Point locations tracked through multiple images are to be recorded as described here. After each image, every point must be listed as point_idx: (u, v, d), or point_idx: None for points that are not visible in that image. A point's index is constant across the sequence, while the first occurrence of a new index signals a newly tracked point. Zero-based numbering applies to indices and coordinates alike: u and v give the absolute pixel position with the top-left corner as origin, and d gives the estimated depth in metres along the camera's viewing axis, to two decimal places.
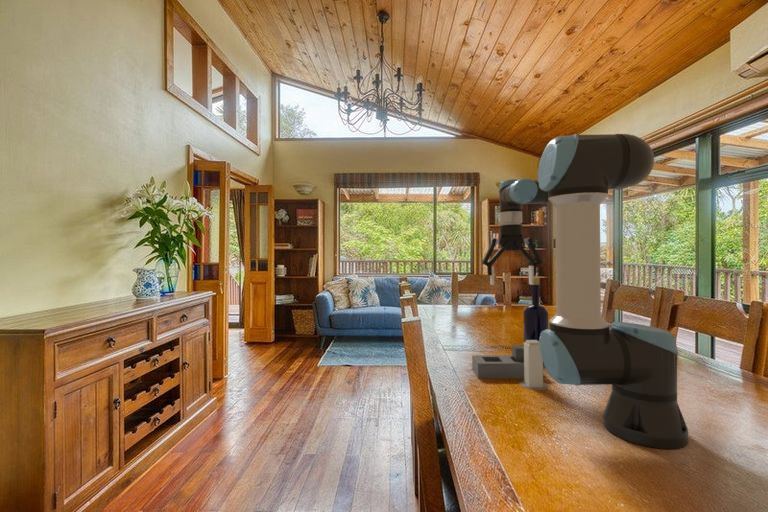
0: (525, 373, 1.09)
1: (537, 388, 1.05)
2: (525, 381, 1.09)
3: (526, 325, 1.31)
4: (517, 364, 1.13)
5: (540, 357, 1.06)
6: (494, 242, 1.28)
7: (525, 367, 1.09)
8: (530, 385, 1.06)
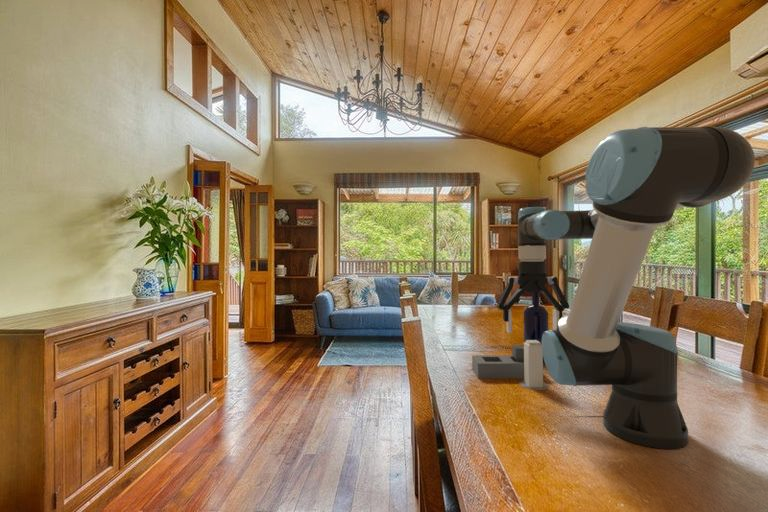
0: (525, 373, 1.09)
1: (537, 388, 1.05)
2: (525, 381, 1.09)
3: (526, 325, 1.31)
4: (517, 364, 1.13)
5: (540, 357, 1.06)
6: (512, 282, 1.07)
7: (525, 367, 1.09)
8: (530, 385, 1.06)
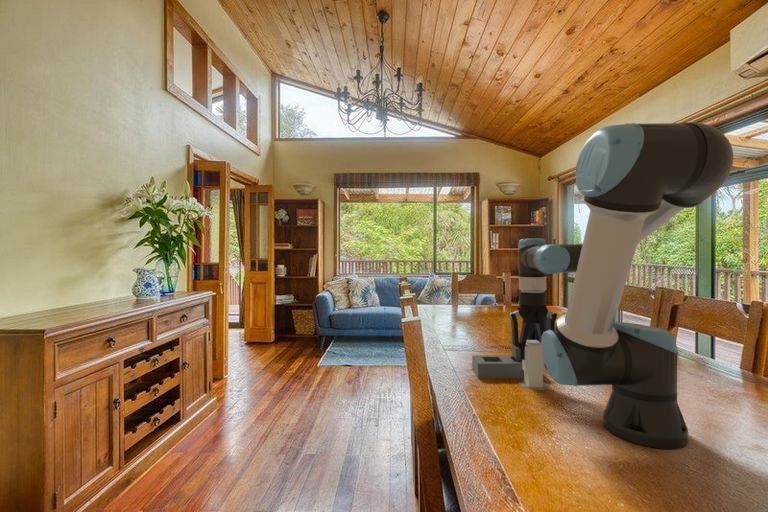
0: (525, 373, 1.09)
1: (537, 388, 1.05)
2: (525, 381, 1.09)
3: None
4: (517, 364, 1.13)
5: (540, 357, 1.06)
6: (514, 318, 1.07)
7: None
8: (530, 385, 1.06)
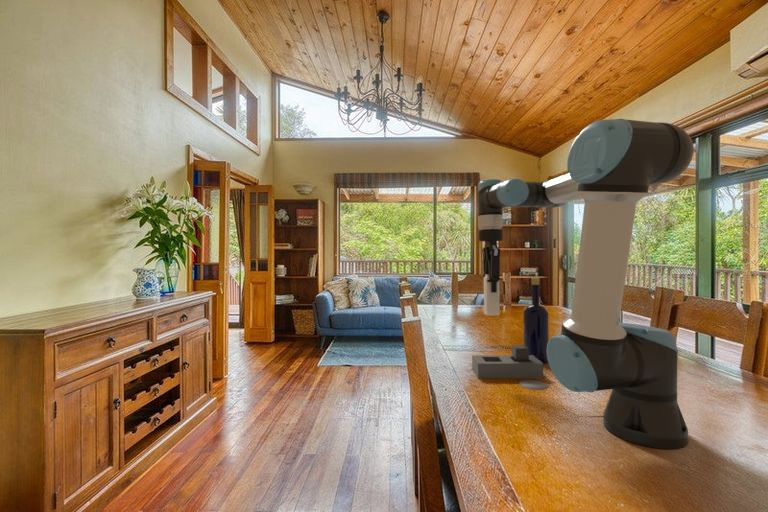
0: None
1: (537, 388, 1.05)
2: None
3: (526, 325, 1.31)
4: (517, 364, 1.13)
5: (486, 288, 1.17)
6: (483, 252, 1.23)
7: None
8: (484, 312, 1.20)
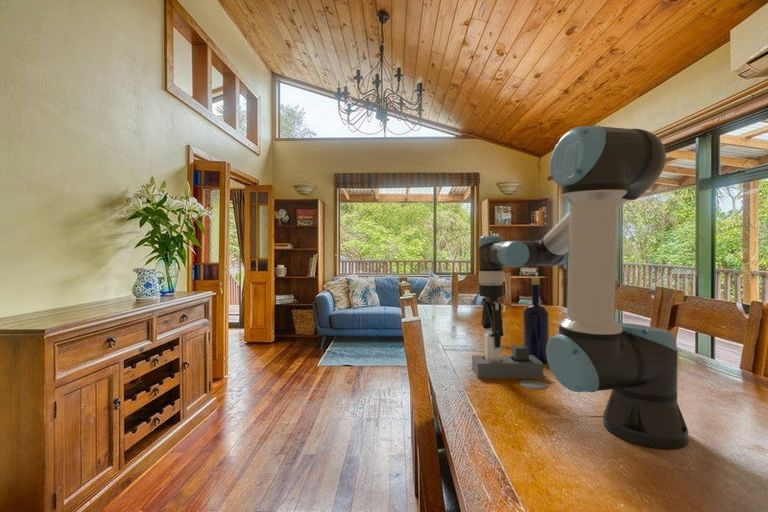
0: None
1: (537, 388, 1.05)
2: None
3: (526, 325, 1.31)
4: (517, 364, 1.13)
5: (487, 346, 1.17)
6: (483, 302, 1.24)
7: None
8: None
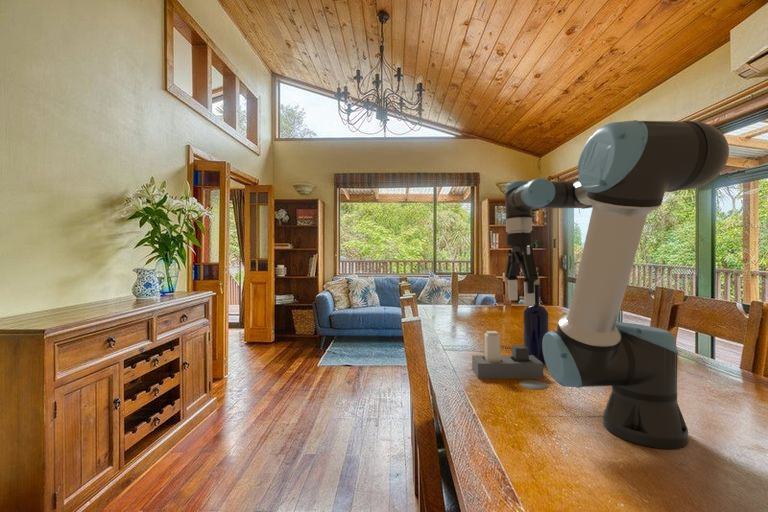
0: None
1: (537, 388, 1.05)
2: None
3: (526, 325, 1.31)
4: (517, 364, 1.13)
5: (487, 346, 1.17)
6: (508, 254, 1.18)
7: None
8: None
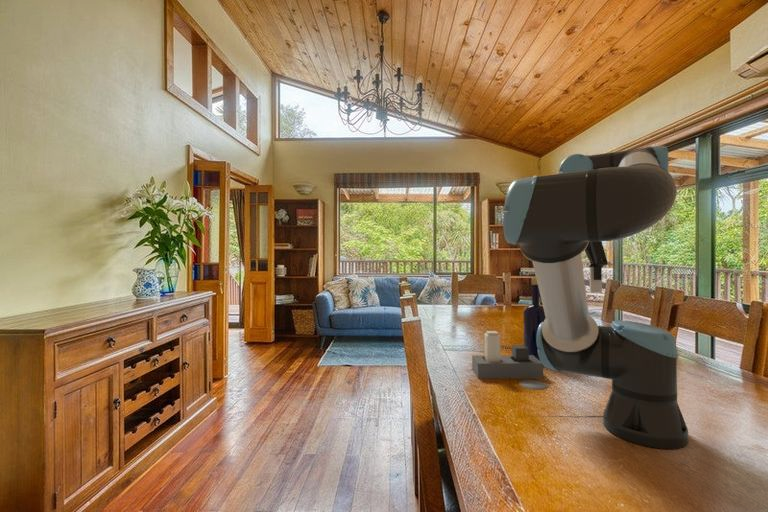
0: None
1: (537, 388, 1.05)
2: None
3: (526, 325, 1.31)
4: (517, 364, 1.13)
5: (487, 346, 1.17)
6: None
7: None
8: None
